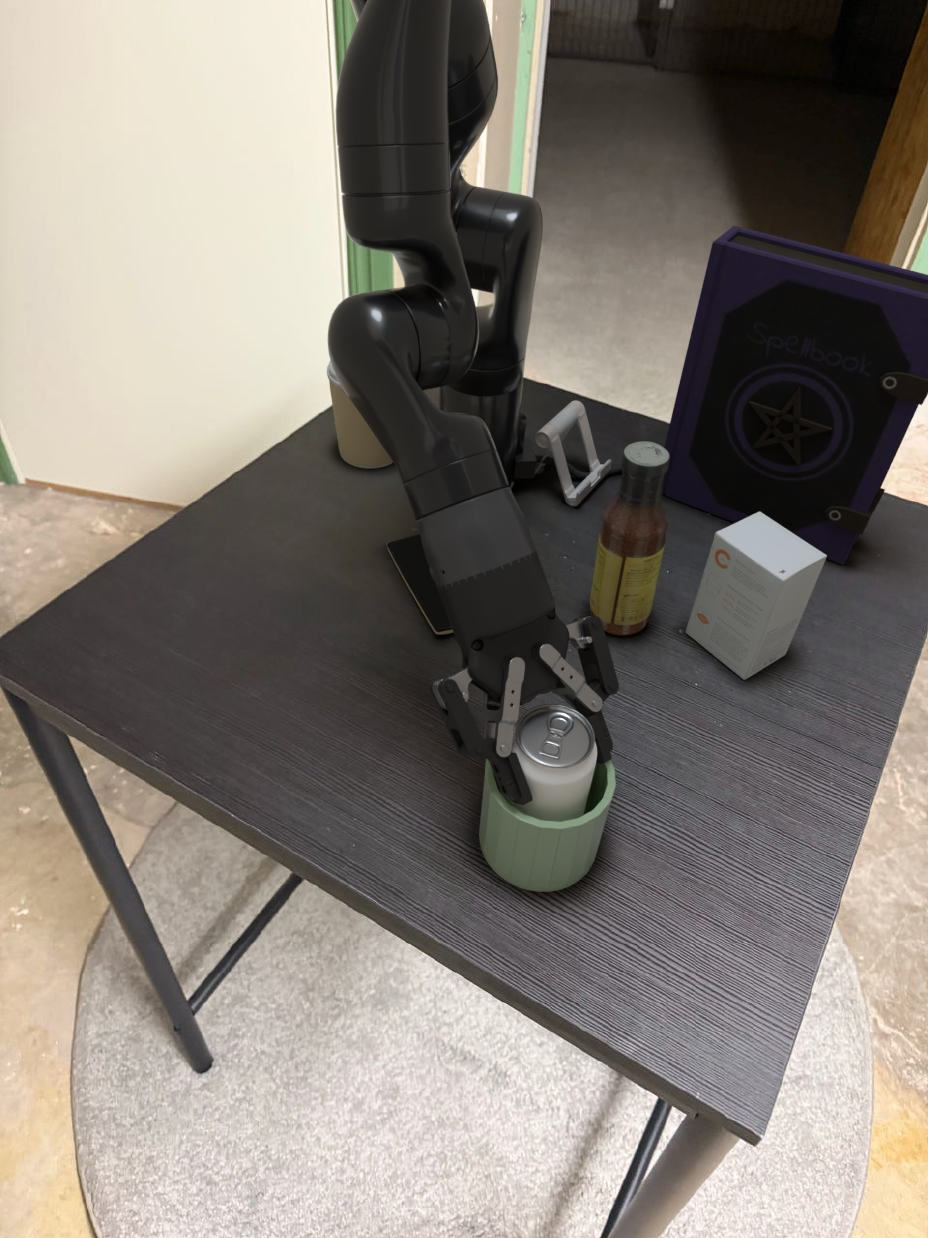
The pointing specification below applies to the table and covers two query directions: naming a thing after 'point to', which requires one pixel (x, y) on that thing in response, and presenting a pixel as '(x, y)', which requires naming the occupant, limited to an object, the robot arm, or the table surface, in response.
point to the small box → (753, 593)
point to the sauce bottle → (631, 542)
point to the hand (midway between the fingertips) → (563, 780)
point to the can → (555, 761)
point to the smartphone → (420, 581)
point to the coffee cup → (354, 430)
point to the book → (797, 386)
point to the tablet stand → (552, 440)
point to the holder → (543, 836)
